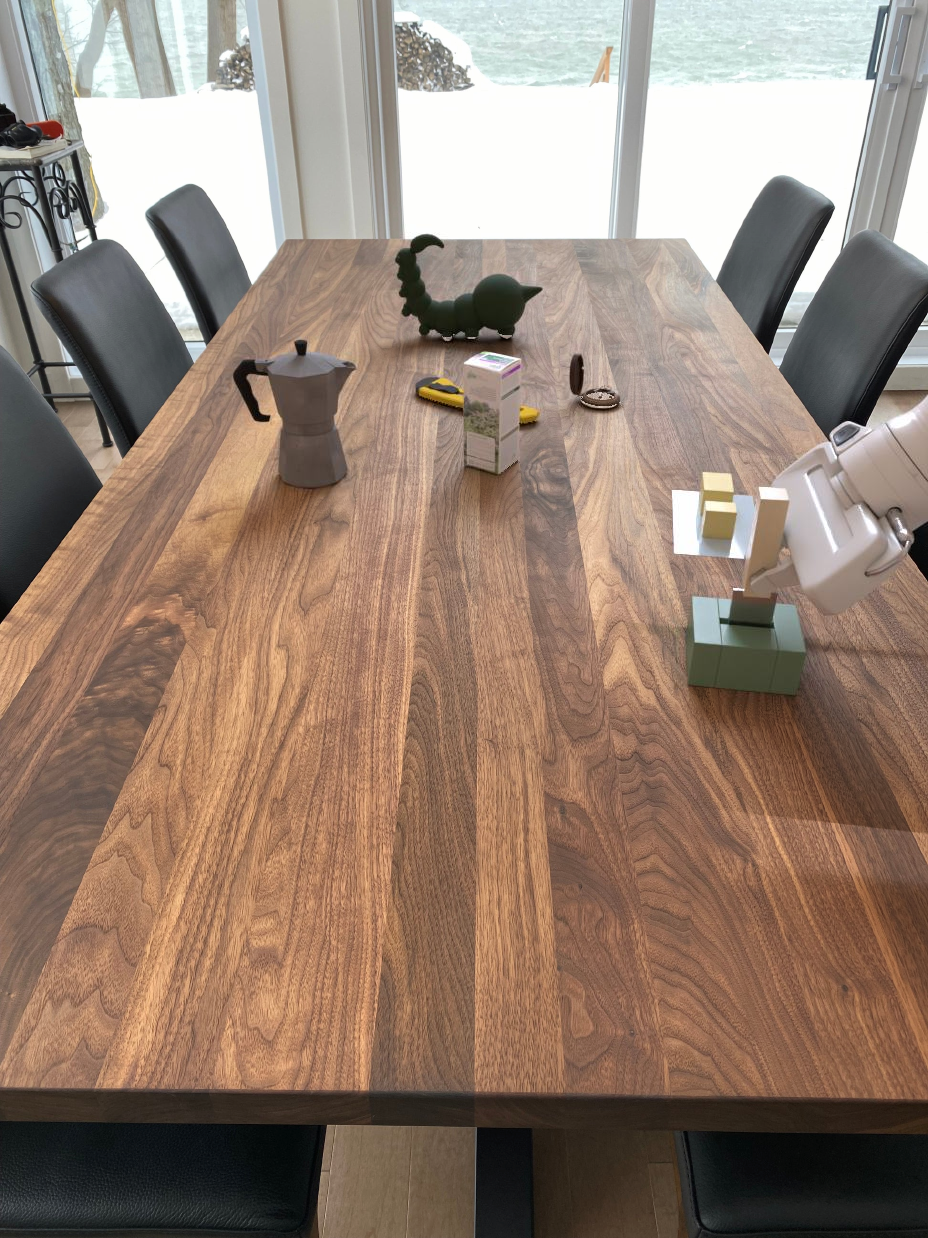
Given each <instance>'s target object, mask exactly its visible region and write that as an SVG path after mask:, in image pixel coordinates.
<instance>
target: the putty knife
mask: <svg viewBox="0 0 928 1238" xmlns="http://www.w3.org/2000/svg"><path fill="white" fill-rule="evenodd" d="M789 502H790V501H789V497H788V493H787V489H786V488H770V486H769V487H767V486H758V488H757V494H756V499H755V503H754V505H755V510H754V515H753V521H752V527H751V532H750V538H749V544H748V549H747V555H746V561H745V562H744V567H743V571H742V578H741V588H734V587H733V589H732V594H731V598H730V599H731V605H730V611H729V617H728V622H727V625H738V626H749V627H760V628H771V625H772V620H773V616H774V611H775V606H776V603H777V600H778V597H779V595H778V594H779V591H775V590H774V591H773V592H771V593H770V594H768V595H766V596H765V597H759V596H757V594H756V593H755V592H754V591H753V590H752V589H751V586H750V582H749V577H750V576H751V575H752V574H755V573H756V572H757V571H758V570H760V569H761V568H763V567H764V568H765V570H766V571H767V570H770V569H773V568H775V567H778V561H779V557H780V556H779V555H780V552H781V551H780V547H781V542H782V537H783V532H784V527H785V522H786V517H787V512H788V507H789Z"/></svg>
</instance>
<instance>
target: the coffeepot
mask: <svg viewBox="0 0 928 1238" xmlns="http://www.w3.org/2000/svg"><path fill="white" fill-rule="evenodd" d="M293 344H294V348H295V351H296V352H291V353H283V354H278V355H277V356H275V357H274V358H272V359H271V358H256V359H255V358H253V359H251V358H245V359H243V360H241V362H240V363H239V364H238V365H237V366H236V368H234V369H235V370H234V371H233V373H232V377H233V378H232V379H233V383H234V384H235V386H236V388H237V390H238V391H239V393H240V395H241V398H242V400H243V401H244V403H245V405H246V408H247V409H248V411H249V414H250V416H251V417H252V419H253V421H254V422H256V423H269V422H270V420H271V417H272V415H271V414H266V413H265V414H264V413H262V412H261V411H260V405H259V401H258V400H257V397H255V395H254V392H253V389H252V384H251V382H250V380H249V379H248V375H256V376H263V377H268V381H269V384H270V388H271V392H272V396H273V400H274V403H275V406H276V411H277V414H278V416H279V417H280V419H281V423H282V427H281V429H280V436H279V448H278V449H279V450H278V467H277V473H278V474H279V476H280V478H281V480H282V481H283V482H284V483H285V484H287V485H289V486H291V487H296V488H302V489H317V488H324V487H328V486H331V485H334V484H336V483H339V482H340V481H341V480H343V478H345V476H346V474H347V473H348V472H349V468H348V464H347V461H346V457H345V453H344V449H343V445H342V440H341V438H340V437H341V436H340V432H339V429H338V427H337V425H336V423H335V421H336V420H335V415H336V414H337V413H338V409H339V408H338V407H339V395H340V393H341V391H342V390H343V388H344V386H345V384H346V382H347V380H348V378H349V377H350V376H351V374H352V372H354V371H356V370H357V366H356V365H355V364H354V362H350V361H349V360H346V359H339V358H336V357H335V356H334V355H333V354H332V353H325V352H316V351H308V341H307V340H306V339H302V338H301V339H296V340H294V341H293Z"/></svg>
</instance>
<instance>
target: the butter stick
mask: <svg viewBox="0 0 928 1238" xmlns="http://www.w3.org/2000/svg"><path fill="white" fill-rule="evenodd" d="M698 492H699V507H700V516H703V511H704V505H705V501H715V502H729V503H732V502H733V496H734V495H735V489H734V483H733V475H732V473H726V472H725V473H724V472H709V471H701V479H700V487H699V491H698Z"/></svg>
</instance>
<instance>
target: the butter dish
mask: <svg viewBox="0 0 928 1238" xmlns="http://www.w3.org/2000/svg"><path fill="white" fill-rule="evenodd" d="M699 492H700V491H692V490H691V491H690V490H678V489H671V500H672V501H671V503H672V528H673V529H672V530H673V531H672V533H673V554H674V555H688V556H698V557H710V558H711V557H713V558H723V559H736V560H737V559H739V560H744V555H745V554H746V553H747V549H748V544H749V538H750V532H751V527H752V521H753V515H754V510H755V501H754V496H753V495H748V494H747V495H746V494H734V496H733V502H732V503H736V509H737V517H736V522H735V528H734V534H733V539H722V538H709V537H702V532H701V524H702V518H703V516H700V507H699Z"/></svg>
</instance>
